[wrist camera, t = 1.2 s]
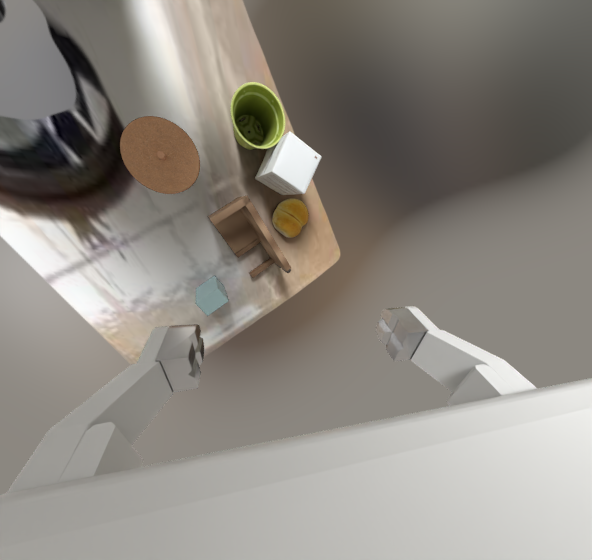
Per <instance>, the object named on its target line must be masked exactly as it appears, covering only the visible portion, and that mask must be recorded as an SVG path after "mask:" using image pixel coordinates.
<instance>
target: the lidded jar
mask: <svg viewBox="0 0 592 560" xmlns="http://www.w3.org/2000/svg"><path fill="white" fill-rule="evenodd" d="M120 151H121V156H122V159H123V161H124V164H125V166H126V167H127V169H128V170H129V172H130V173H131V174H132V176H133V177H134V178H135V179H136V180H137V181H139V182H140V183H141V184H142V185H144V186H146V187H147V188H149V189H151V190H154V191H156V192H160V193H165V194H175V193H180V192H183V191H185V190H187V189H188V188H190V187H191V186H192V185H193V184H194V183H195V181H196V179H197V177H198V174H199V170H200V160H199V155H198V151H197V149H196V147H195V145H194V143H193V141H192V140H191V138H190V137H189V136H188V134H187V133H186V132H185V131H184V130H183V129H181V128H180V127H179V126H177V125H176V124H174V123H173V122H171V121H168V120H166V119H163V118H160V117H154V116H145V117H141V118H138V119H135V120H133V121H132V122H131V123H129V124H128V125H127V127H126V128H125V129H124V131H123V133H122V136H121V140H120Z"/></svg>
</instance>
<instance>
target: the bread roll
mask: <svg viewBox="0 0 592 560" xmlns="http://www.w3.org/2000/svg"><path fill="white" fill-rule="evenodd" d="M308 216H309V215H308V210H307V208H306V206H305V204H304V203H303V202H302V201H300V200H298V199H286V200H284V201H282V202H281V203H280V204H278V206H277V208H276V209H275V211H274V213H273V217H272V222H273V225H274V227H275V229H276V230H278V231H279V232H280V233H281V234H282V235H284V236H285V237H287V238H288V237H295V236H297V235H298V234H299V233H300V231H301V227H302V226H303V225H305V224H306V223H307V221H308Z"/></svg>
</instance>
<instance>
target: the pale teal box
mask: <svg viewBox="0 0 592 560" xmlns="http://www.w3.org/2000/svg"><path fill="white" fill-rule="evenodd" d="M228 301H229V300H228V297H227V294H226V291H225V288H224V286H223V285H222V284H221V282H220V281H219V280H218V279H217V278H216V276H213V277H212V278H210V279H209V280H207V281H206V282H204V283H203V284H202V285H200V286H199V287H197V288H196V305H197V306H198V307H199V308H200V309H201V310H202V311H203V312H204V313H205V314H206V315H207V316H209V315H210V314H211V313H213V312H214V311H216V310H217V309H218V308H220V307H221V306H223V305H224V304H225V303H227V302H228Z"/></svg>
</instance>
